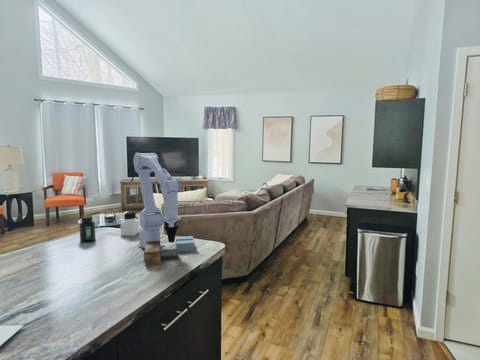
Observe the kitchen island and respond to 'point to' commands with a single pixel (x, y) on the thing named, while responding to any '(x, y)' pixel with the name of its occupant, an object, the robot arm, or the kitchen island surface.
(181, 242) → the v block
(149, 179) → the robot arm
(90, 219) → the supplement bottle
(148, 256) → the beam
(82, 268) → the kitchen island surface
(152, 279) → the kitchen island surface
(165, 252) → the axle
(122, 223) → the medicine bottle
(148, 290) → the kitchen island surface
